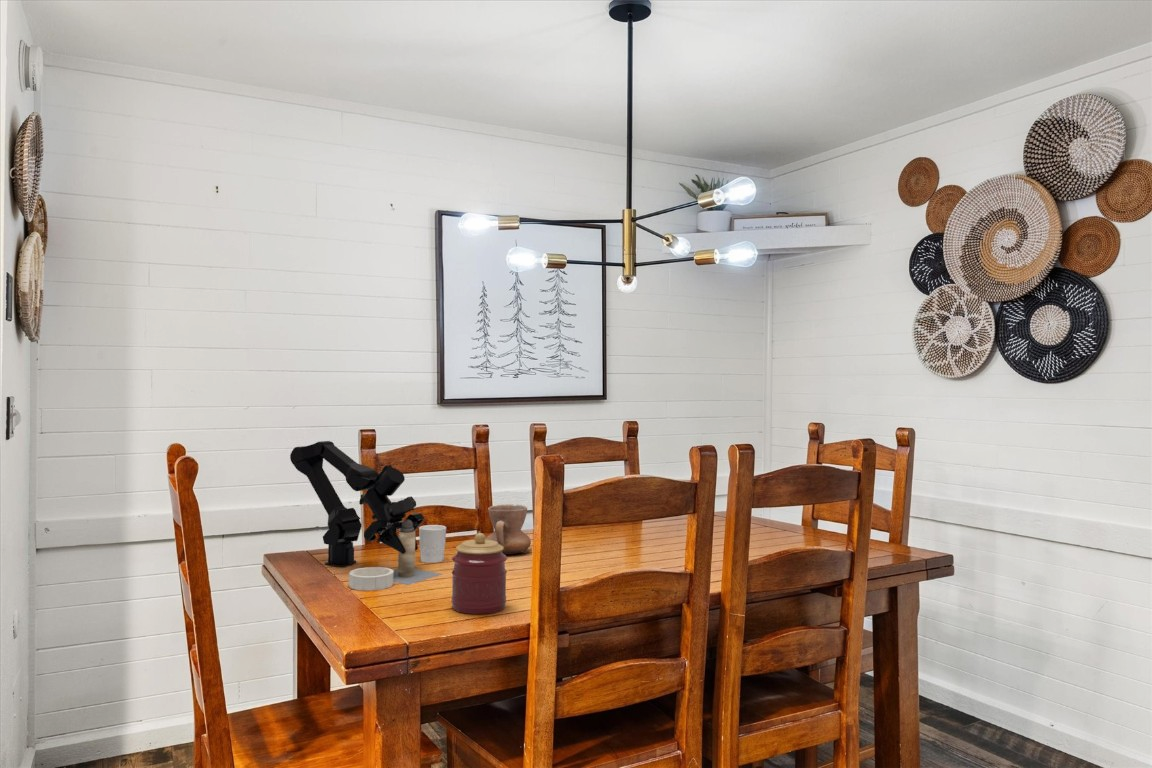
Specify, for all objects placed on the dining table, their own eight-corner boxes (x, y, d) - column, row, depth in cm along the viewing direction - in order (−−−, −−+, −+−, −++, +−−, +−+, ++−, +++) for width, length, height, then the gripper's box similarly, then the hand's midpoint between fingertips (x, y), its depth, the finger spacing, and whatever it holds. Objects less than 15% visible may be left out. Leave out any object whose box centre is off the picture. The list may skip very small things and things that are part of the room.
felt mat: (368, 578, 215) (368, 577, 215) (404, 568, 227) (405, 567, 227) (407, 585, 208) (407, 584, 208) (443, 575, 220) (443, 573, 220)
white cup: (439, 564, 232) (440, 530, 232) (414, 563, 233) (414, 529, 233) (449, 559, 239) (450, 525, 239) (424, 557, 241) (425, 524, 241)
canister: (459, 617, 182) (460, 540, 181) (445, 602, 193) (446, 529, 193) (513, 612, 187) (515, 536, 187) (496, 597, 199) (497, 526, 198)
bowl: (340, 588, 204) (340, 574, 204) (365, 578, 214) (365, 565, 214) (377, 593, 200) (377, 579, 200) (401, 583, 211) (401, 569, 211)
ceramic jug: (495, 545, 261) (495, 501, 261) (537, 547, 257) (537, 503, 257) (474, 557, 243) (474, 511, 243) (519, 560, 240) (519, 513, 239)
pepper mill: (394, 576, 216) (395, 520, 216) (403, 572, 220) (404, 517, 220) (409, 578, 215) (410, 521, 215) (417, 574, 219) (418, 518, 219)
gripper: (372, 491, 211) (402, 538, 206) (420, 484, 227) (449, 527, 222) (350, 518, 215) (379, 564, 210) (399, 509, 231) (427, 552, 226)
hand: (410, 551), depth 217 cm, fingers closed on pepper mill, 4 cm apart
